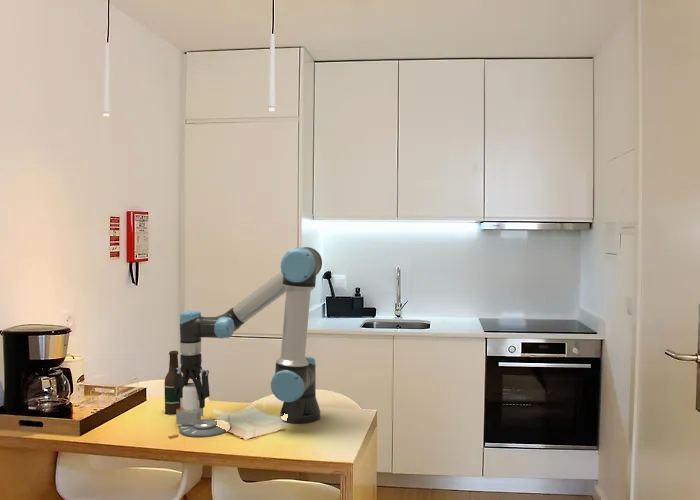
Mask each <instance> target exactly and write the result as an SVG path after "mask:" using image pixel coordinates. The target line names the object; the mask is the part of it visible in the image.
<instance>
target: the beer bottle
mask: <svg viewBox="0 0 700 500" xmlns="http://www.w3.org/2000/svg"><path fill="white" fill-rule="evenodd" d="M168 355H169V364H168V371H167V373H166V376H165V377H164V414H165V415H169V416H174V415H175V416H176V409H178V408H181V406H179V397H178V396H175V395H174V380H175V375H174V369H177V368H180V367H179V357H178V355H179V352H178V350H170V351H169V353H168ZM182 377H183V373H181V383H182Z"/></svg>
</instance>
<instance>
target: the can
mask: <svg viewBox="0 0 700 500" xmlns="http://www.w3.org/2000/svg"><path fill="white" fill-rule="evenodd" d="M198 399H199V397H198V394H197V390H196V387H195V384H194V382H188V384H187V385H184V387H183V408H184V410H195V411H197V400H198Z"/></svg>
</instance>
